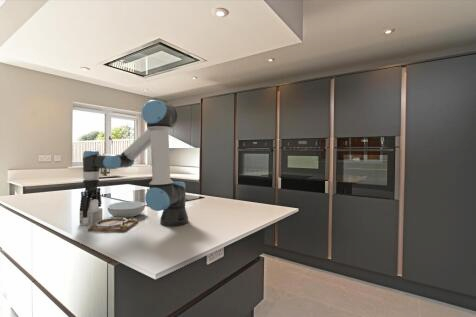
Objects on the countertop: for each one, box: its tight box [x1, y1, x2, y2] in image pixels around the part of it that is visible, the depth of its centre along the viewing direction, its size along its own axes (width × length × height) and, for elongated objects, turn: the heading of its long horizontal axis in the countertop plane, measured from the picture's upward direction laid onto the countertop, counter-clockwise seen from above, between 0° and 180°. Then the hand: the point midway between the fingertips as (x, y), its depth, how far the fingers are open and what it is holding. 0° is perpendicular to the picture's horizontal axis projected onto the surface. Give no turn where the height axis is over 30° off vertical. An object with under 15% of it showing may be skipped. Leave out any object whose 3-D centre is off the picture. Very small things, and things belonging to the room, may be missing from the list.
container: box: [79, 199, 103, 227], centre depth 130 cm, size 8×8×13 cm
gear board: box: [87, 216, 139, 233], centre depth 126 cm, size 18×16×4 cm
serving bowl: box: [107, 200, 146, 219], centre depth 147 cm, size 21×21×7 cm
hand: (91, 220), depth 131 cm, fingers closed on container, 8 cm apart
